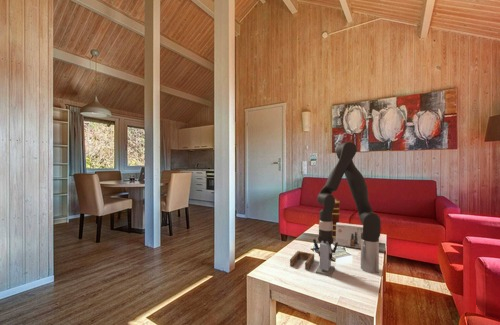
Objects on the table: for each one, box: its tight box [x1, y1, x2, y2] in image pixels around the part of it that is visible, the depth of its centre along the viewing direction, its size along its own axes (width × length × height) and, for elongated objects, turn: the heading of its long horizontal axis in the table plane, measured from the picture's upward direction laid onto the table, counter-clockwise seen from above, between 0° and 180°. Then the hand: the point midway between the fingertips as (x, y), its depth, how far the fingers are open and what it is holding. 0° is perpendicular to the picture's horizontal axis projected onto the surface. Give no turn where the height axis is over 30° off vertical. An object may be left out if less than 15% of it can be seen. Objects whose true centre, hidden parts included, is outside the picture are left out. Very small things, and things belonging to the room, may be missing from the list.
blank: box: [319, 242, 332, 271], centre depth 131 cm, size 4×9×14 cm, turn 151°
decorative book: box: [332, 197, 341, 239], centre depth 200 cm, size 22×8×30 cm, turn 168°
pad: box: [315, 264, 335, 277], centre depth 131 cm, size 8×12×1 cm, turn 151°
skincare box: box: [335, 222, 363, 249], centre depth 171 cm, size 21×6×16 cm, turn 68°
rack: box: [289, 250, 315, 271], centre depth 140 cm, size 10×16×4 cm
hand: (325, 258), depth 131 cm, fingers closed on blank, 4 cm apart
